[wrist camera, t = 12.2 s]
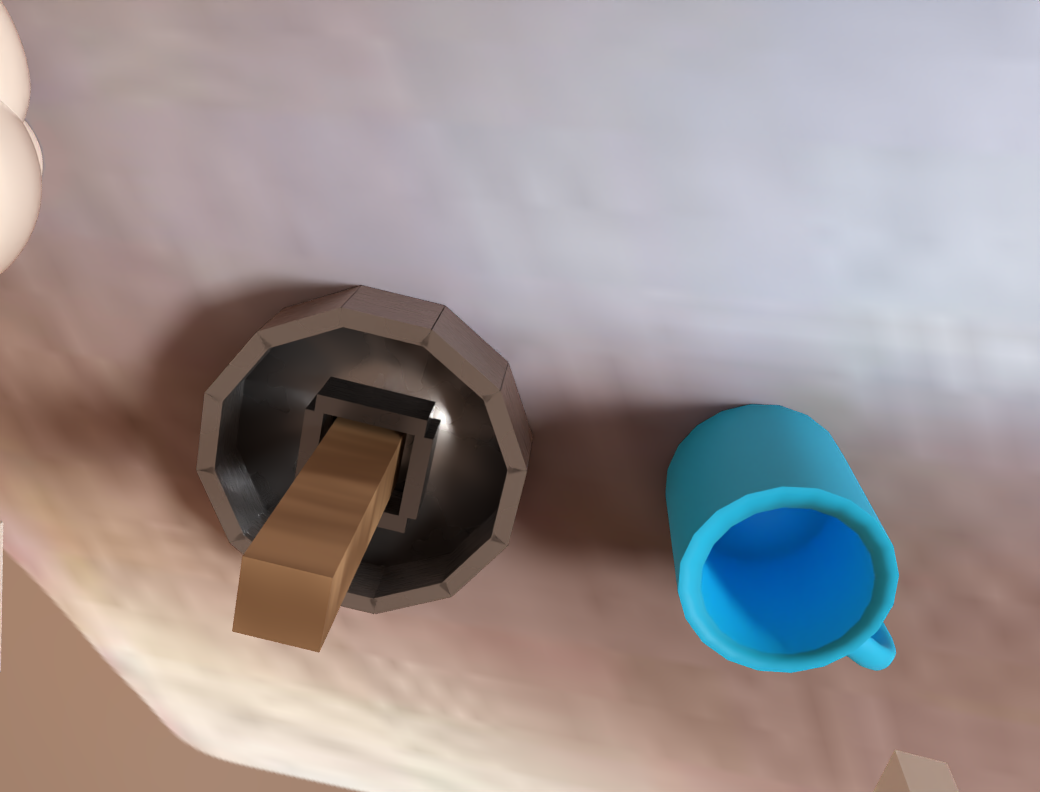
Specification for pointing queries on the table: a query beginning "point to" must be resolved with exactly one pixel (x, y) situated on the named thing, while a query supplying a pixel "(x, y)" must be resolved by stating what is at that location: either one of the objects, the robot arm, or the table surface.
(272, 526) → the square wooden stick
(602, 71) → the table surface
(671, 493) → the mug
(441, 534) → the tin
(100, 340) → the table surface
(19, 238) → the teapot
